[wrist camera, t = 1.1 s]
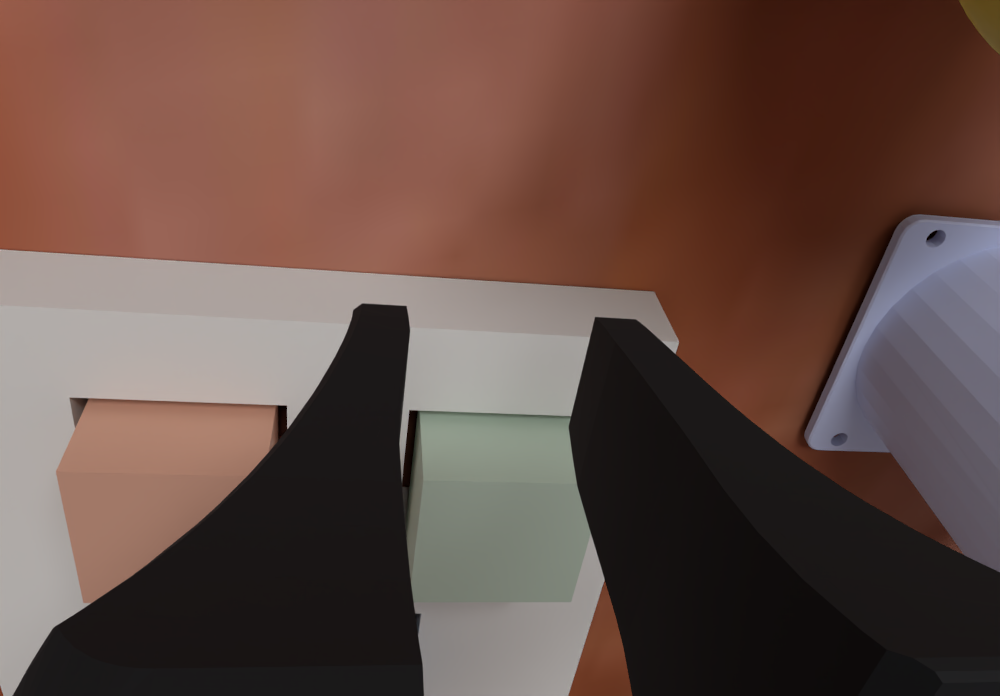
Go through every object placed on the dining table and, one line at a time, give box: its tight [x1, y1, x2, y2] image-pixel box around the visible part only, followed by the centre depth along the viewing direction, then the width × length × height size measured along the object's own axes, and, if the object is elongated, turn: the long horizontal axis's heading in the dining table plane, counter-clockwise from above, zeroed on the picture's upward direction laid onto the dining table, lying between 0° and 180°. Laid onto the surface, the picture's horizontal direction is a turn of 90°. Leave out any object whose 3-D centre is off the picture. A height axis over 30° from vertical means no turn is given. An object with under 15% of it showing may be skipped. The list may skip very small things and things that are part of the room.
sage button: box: [406, 410, 591, 602], centre depth 23 cm, size 4×4×3 cm
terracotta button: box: [56, 398, 278, 603], centre depth 21 cm, size 4×4×3 cm
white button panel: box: [0, 250, 679, 696], centre depth 26 cm, size 18×18×2 cm
